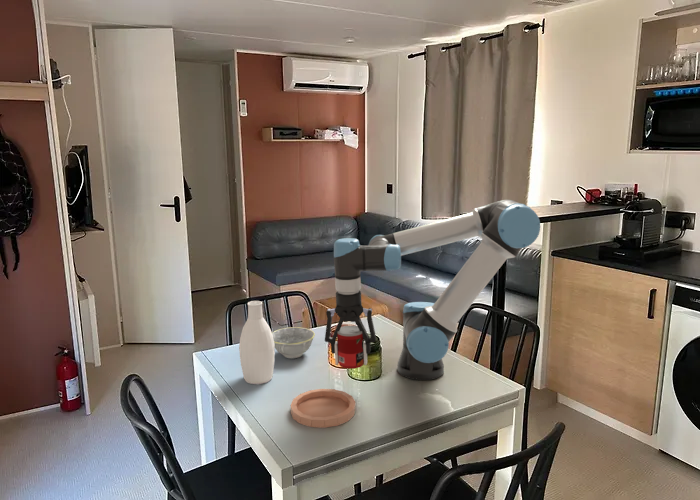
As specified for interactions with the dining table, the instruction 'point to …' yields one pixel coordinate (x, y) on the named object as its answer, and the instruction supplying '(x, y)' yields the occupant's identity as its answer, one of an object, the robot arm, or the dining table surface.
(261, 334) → the bottle
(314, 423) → the tray
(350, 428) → the dining table surface
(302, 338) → the bowl
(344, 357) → the canned food
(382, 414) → the dining table surface
